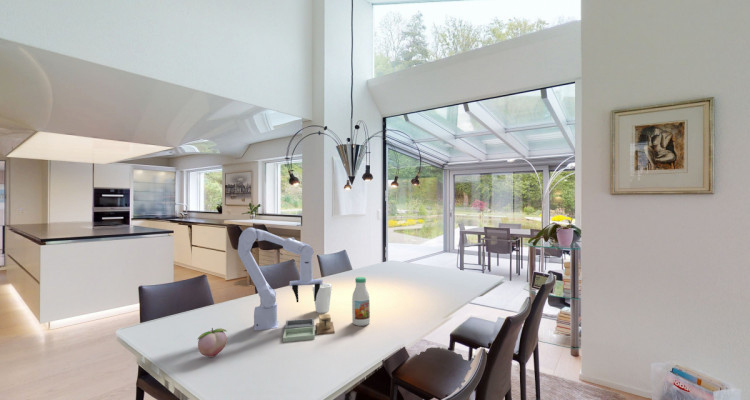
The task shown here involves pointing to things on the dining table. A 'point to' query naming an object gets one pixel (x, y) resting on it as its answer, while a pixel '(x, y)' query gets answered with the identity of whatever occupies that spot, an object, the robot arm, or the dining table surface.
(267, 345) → the dining table surface
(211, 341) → the decorative fruit
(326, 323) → the letter cube
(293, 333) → the sage tray
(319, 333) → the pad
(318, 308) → the foam cup
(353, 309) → the milk bottle
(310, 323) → the gray tray
